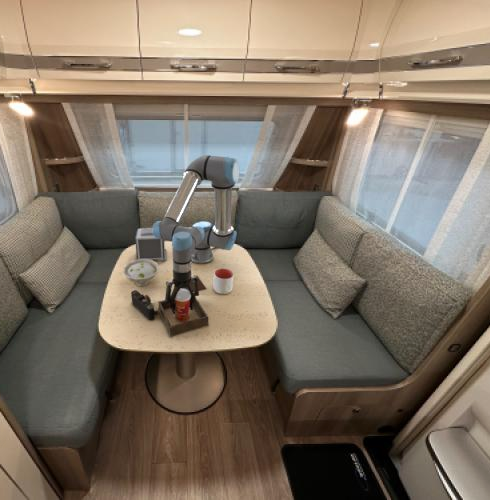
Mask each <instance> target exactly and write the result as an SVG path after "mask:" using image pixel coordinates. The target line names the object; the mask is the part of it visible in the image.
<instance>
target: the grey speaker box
mask: <svg viewBox="0 0 490 500" xmlns="http://www.w3.org/2000/svg"><path fill="white" fill-rule="evenodd" d="M152 229H153V227H145V228H143V227H142V228H141V227H140V228H137V230H136V232H135V237H134V243H135V253H136V254H135V260H140V259H148V260H153V261H154V260H158V262H166V261H167V249H166V248H165V246H166V245H165V240H162V239H159V238H156V237H154V235H153V233H152Z"/></svg>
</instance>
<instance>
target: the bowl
mask: <svg viewBox="0 0 490 500" xmlns="http://www.w3.org/2000/svg"><path fill="white" fill-rule="evenodd" d="M159 271H160V265H159V263H157V262H156V261H154V259H153V260H148V259H140V260H136V259H134V260H132V261H130V262H129V261H128V262H127V263H126V264H125V265H124V267H123V268H122V274H123V275H124V276H125V277H126V278H127V280H129V281H130V282H132V283H134V284H136V286H139V287H145V286H147V285H149V283H150V282H151V281H152V280H154V278H155V277H156V276H157V275H158V273H159Z"/></svg>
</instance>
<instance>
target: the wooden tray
mask: <svg viewBox="0 0 490 500" xmlns="http://www.w3.org/2000/svg"><path fill="white" fill-rule="evenodd" d="M174 302H175V300H174ZM157 305H158V313H159V314H160V317H161V318H162V321H163V323H164V325H165V329H166V330H167V333H168V334H169V337H173V336H177V335H181V334H183V333H187V332H190V331H193V330H197V329H201V328H203V327H207V326H209V316H208V314H207V313H206V311H205V310H204V308H203V306H202V305H201V303H200V302H199V300H198V299H197V298H196V299H195V302H194V303H193V307H194V308H195V310H196V312H197V313H198V314H199V316H200V317H199V318H194V319H191V320H188V321H183V322H181V323H178V324H175V325H172V324H171V323H170V320H169V318H168V316H167V314H166V312H165V310H167V309H171V308H170V303H168V304H167V303H166V301H165V299H164V300H159V301H157Z"/></svg>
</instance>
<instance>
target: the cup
mask: <svg viewBox="0 0 490 500" xmlns="http://www.w3.org/2000/svg"><path fill="white" fill-rule="evenodd" d="M234 277H235V276H234V272H233V270H231V269H229V268H225V267H222V268H221V267H220V268H217V269H215V270H214V271H213V281H212V289H213V290H214V292H216V293H218V294H222V295H226V294H229V293H231V292H232V290H233V286H234V285H233V284H234Z"/></svg>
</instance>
